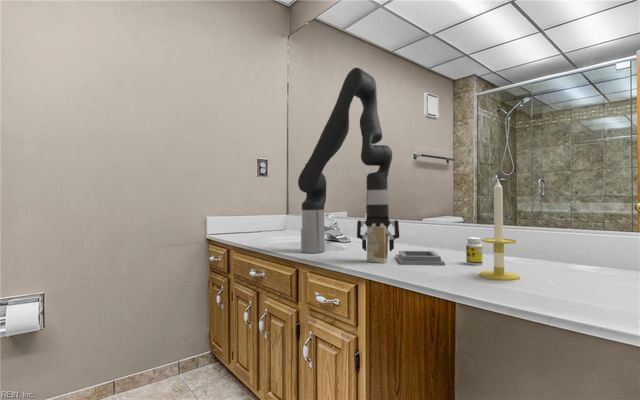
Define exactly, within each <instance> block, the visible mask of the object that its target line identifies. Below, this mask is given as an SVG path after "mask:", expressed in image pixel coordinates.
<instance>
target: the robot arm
mask: <svg viewBox="0 0 640 400" xmlns="http://www.w3.org/2000/svg"><path fill="white" fill-rule="evenodd" d="M354 97H356V98H358V99H359V100H360V103H361V106H362V112H361V115H360V118H359V128H360V132H361V138H362V140H361V141H362V142H361V143H362V145H361V152H360V159H361V162H362V163H363V164H364V165H365V166H371V167H372V166H375V167H376V166H377V167H378V166H379V167H378V170H376V171H375V172H370V173H368V174H367V175H366V193H365V194H366V195H365V204H366V205H365V207H366V208H365V210H366V211H365V213H366V214H365V215H366V217H365V218H366V219H365V220H360V219H359V220H357V224H356V225H357V226H356V237H357V239H360V240H361V246H362V248H361V249H362V250H363V251H364V252H367V236H368V235H369V234H370V233H371V231H372V228H374V227H375V226H381V227H385V226H386V227H387V228H388V229H387V228H386V234H387V235H388V251H389V252H392V251H393V250H394V249H395V240H396V239H399V238H400V225H399V221H398V219H394V220H390V218H389V217H390V216H389V215H390V214H389V192H388V176H389V172H390V168H391V164H392V161H393V151H392V149H391V148H390V147H391V146H388V145H387V144H385V145H383V144H378V143H380V142H381V141H382V139H383V132H382V128H381V123H380V118H379V113H378V99H377V98H378V93H377V83H376V80H375V78H374V77H373V76H372V75H370V74H369V73H368V72H366V71H364V69H361V68H359V67H354V68H352V69H351V70H350V71H349V72H348V73H347V74H346V77H345V79H344V81H343V83H342V85H341V89H340V91H339V94H338V97H337V99H336V103H335V104H334V107H333V109H332V111H331V114H330V116H329V117H328V120H327V122H326V124H325V125H324V128H323V130H322V132H321V134H320V137H319V139H318V141H317V143H316V145H315V147H314V149H313V151H312V153H311V156H310V157H309V159H308V160H307V162H306V164H305V165H304V167H303V169H302V170H301V172H300V174H299V176H298V180H297V184H298V185H297V186H298V188H299V190H300V192H303V193H306V197H305V200H304V201H303V202H302V204H301V229H300V247H301V248H300V252H301V253H306V254H320V253H324V252H325V250H326V247H325V245H326V244H325V243H326V242H325V233H326V232H325V204H326V201H327V179H326V176H325V175H324V173H323V170H324V169H325V167H326V165H327V164H328V163H329V161H330V160H331V159H332V158H333V157H334V156H335V155H336V154H337V153H338V151H339V150H340V149H341V148H342V145H343V144H344V143H345V140H346V137H347V136H348V133H349V129H350V109H351V104H352V103H353V99H354ZM364 225H365V226H366V227H367V226H371V227H370V228H369V229H368V230H367V229H366V231H365V232H364V234H362V233H361V232H362V230H361V229H362V227H364ZM390 225H391V226H392V227H393V228H394V234H392V233H391V232H390V230H389V226H390Z"/></svg>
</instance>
